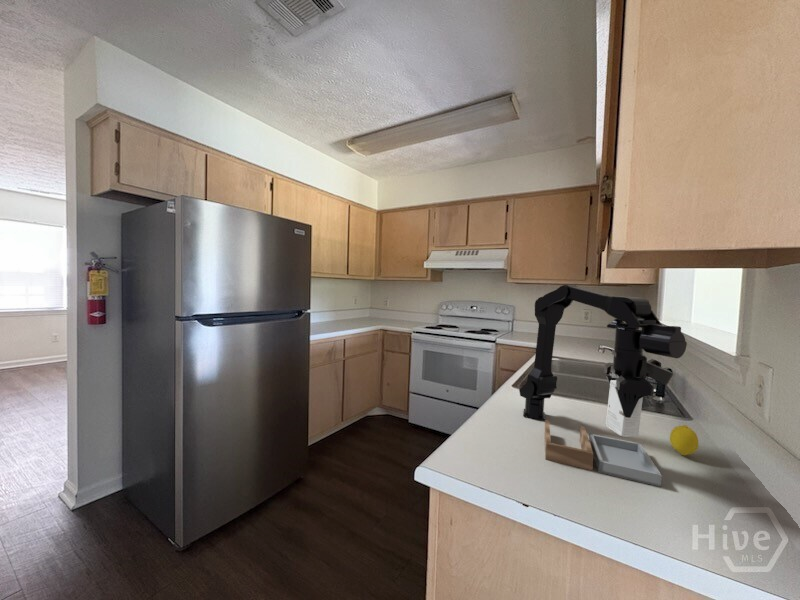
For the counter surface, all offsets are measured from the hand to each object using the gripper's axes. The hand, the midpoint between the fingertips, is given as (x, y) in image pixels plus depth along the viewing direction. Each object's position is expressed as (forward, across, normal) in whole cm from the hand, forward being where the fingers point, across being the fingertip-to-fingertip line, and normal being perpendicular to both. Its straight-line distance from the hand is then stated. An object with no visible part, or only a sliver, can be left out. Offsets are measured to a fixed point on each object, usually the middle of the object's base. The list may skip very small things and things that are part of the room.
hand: (623, 411), depth 77 cm
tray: (+13, 0, 0) cm, 13 cm away
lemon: (+13, +12, -16) cm, 24 cm away
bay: (+13, +1, +12) cm, 17 cm away
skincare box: (+5, 0, 0) cm, 5 cm away
